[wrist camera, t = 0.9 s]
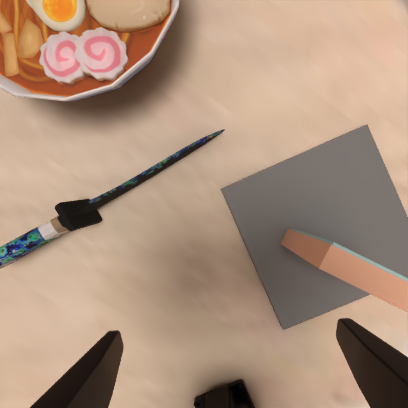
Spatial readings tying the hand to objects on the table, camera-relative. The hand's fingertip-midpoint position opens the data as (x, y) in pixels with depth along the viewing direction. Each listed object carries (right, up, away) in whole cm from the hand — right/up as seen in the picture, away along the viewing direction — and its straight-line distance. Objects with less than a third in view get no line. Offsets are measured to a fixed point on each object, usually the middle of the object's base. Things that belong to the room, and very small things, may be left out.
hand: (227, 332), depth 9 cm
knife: (-12, +6, +17) cm, 22 cm away
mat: (+13, +2, +16) cm, 21 cm away
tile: (+12, 0, +16) cm, 20 cm away
